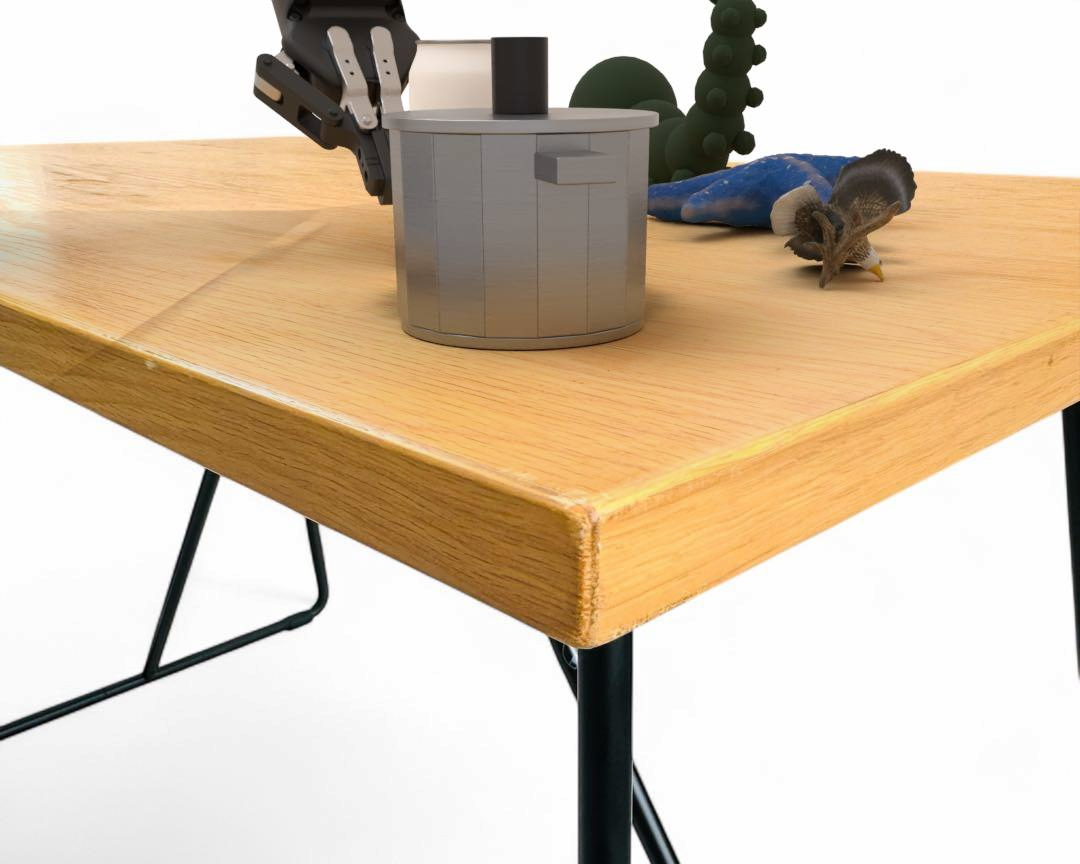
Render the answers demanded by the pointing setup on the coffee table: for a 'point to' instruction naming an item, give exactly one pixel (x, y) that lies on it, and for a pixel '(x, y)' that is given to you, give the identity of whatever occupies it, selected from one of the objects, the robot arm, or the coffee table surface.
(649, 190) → the starfish
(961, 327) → the coffee table surface
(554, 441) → the coffee table surface
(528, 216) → the pot
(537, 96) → the pot lid
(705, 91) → the toy figurine
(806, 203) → the eagle figurine
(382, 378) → the coffee table surface
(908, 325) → the coffee table surface
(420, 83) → the can
